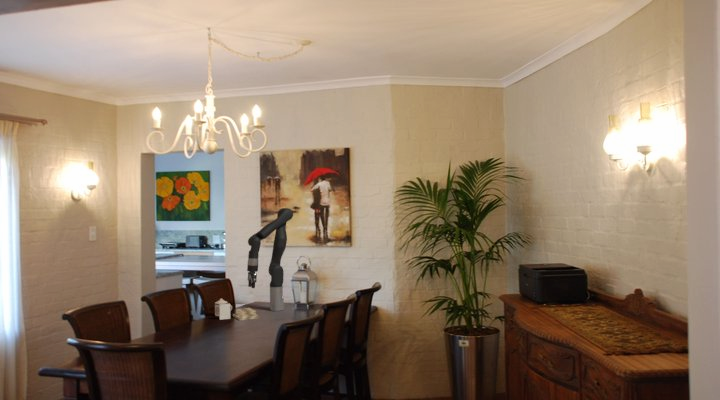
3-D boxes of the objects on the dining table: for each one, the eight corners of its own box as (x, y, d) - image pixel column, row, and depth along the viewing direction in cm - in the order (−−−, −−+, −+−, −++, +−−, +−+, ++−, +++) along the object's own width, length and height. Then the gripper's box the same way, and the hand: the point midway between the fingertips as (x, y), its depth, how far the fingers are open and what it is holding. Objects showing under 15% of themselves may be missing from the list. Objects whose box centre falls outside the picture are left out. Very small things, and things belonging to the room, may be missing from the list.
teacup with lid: (213, 316, 389) (213, 299, 390) (216, 314, 398) (215, 297, 399) (231, 316, 390) (230, 299, 390) (233, 313, 399) (232, 297, 400)
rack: (252, 314, 396) (252, 307, 396) (259, 318, 381) (259, 310, 381) (232, 316, 390) (232, 309, 390) (239, 320, 375) (238, 312, 375)
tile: (229, 318, 384) (229, 303, 384) (230, 318, 381) (230, 303, 382) (219, 319, 380) (219, 304, 381) (220, 319, 378) (219, 304, 378)
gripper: (260, 265, 397) (259, 288, 396) (255, 264, 410) (253, 286, 409) (250, 265, 394) (249, 288, 393) (245, 263, 407) (243, 286, 406)
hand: (251, 287), depth 401 cm, fingers open, 8 cm apart
